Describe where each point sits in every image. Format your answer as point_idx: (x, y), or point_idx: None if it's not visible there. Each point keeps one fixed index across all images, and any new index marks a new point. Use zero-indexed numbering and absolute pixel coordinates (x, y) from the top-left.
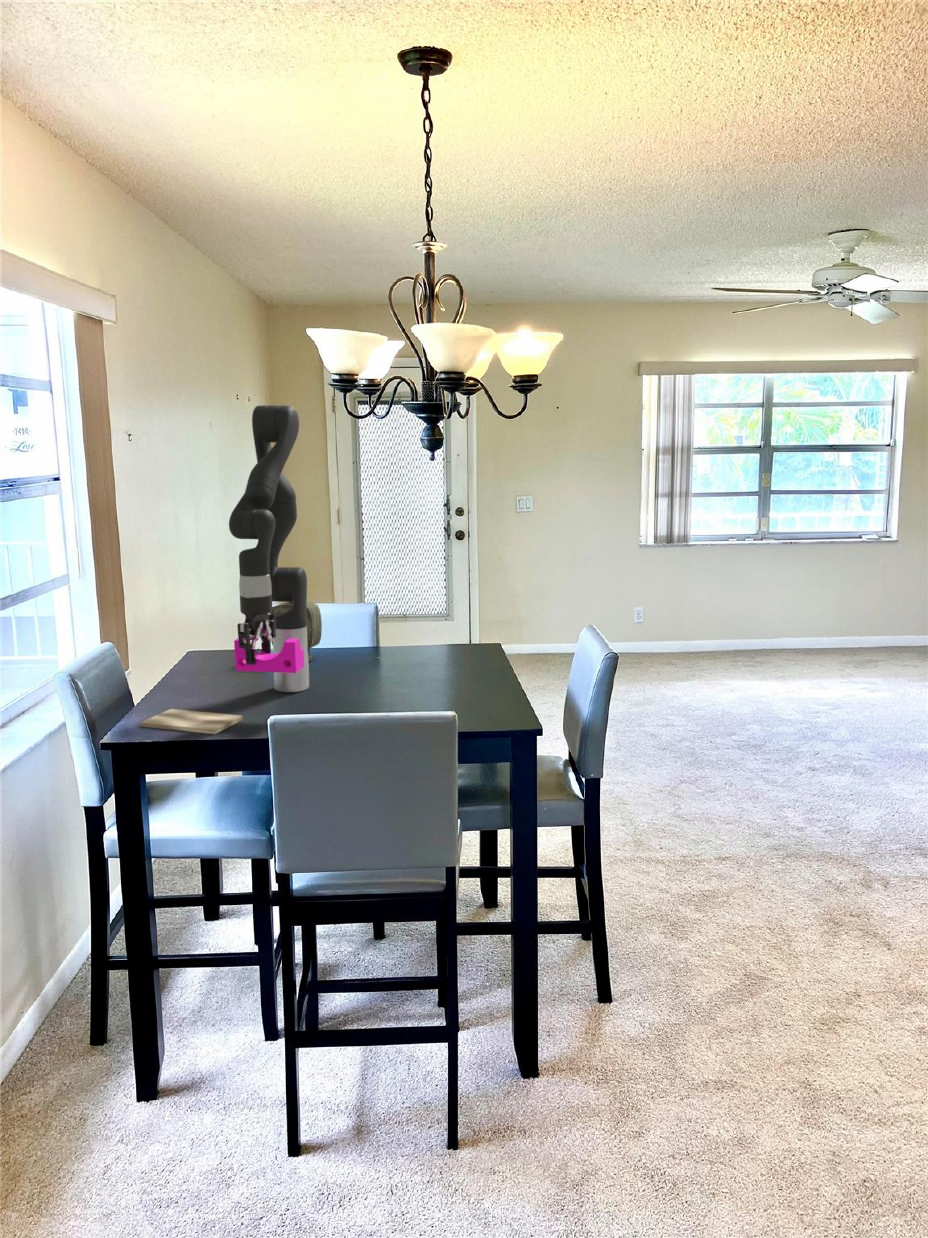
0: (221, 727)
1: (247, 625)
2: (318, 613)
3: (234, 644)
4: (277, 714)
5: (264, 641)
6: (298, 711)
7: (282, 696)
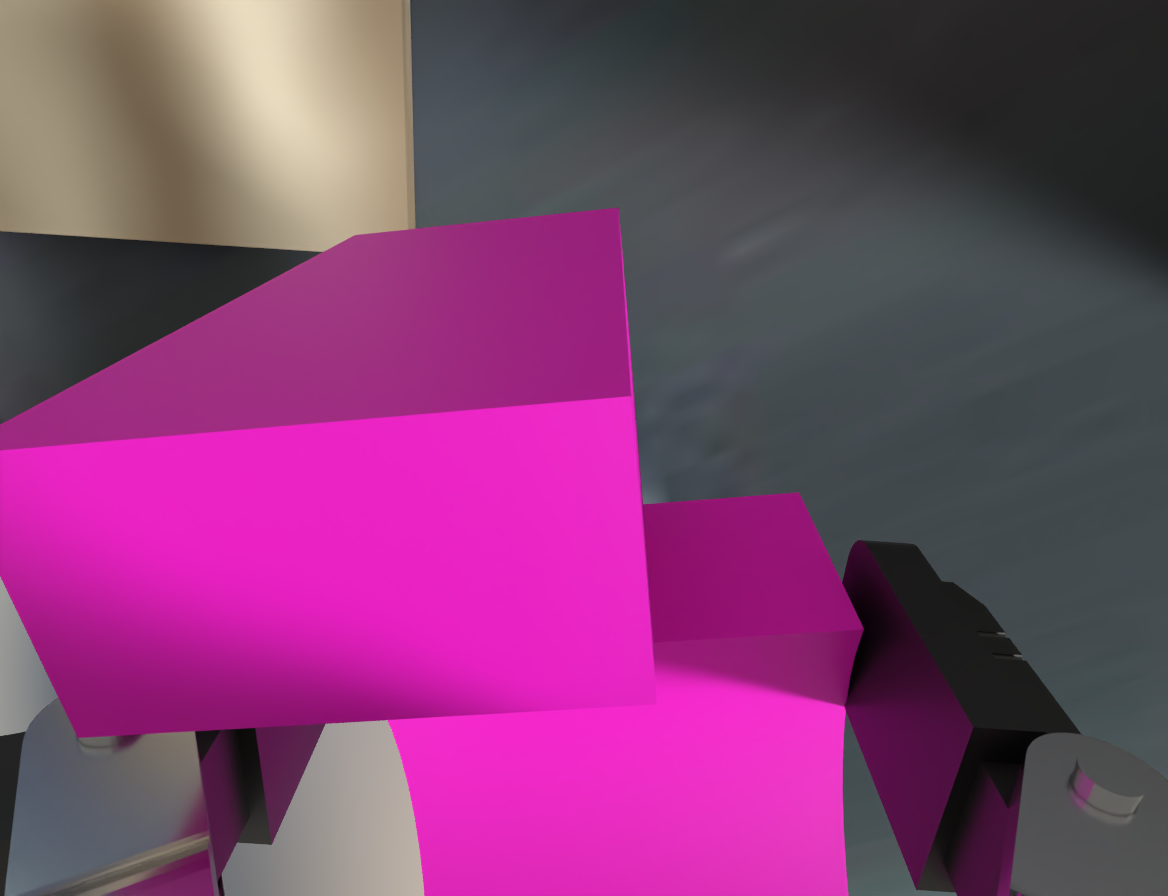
0: (75, 233)
1: None
2: None
3: (63, 399)
4: None
5: (980, 813)
6: None
7: None
